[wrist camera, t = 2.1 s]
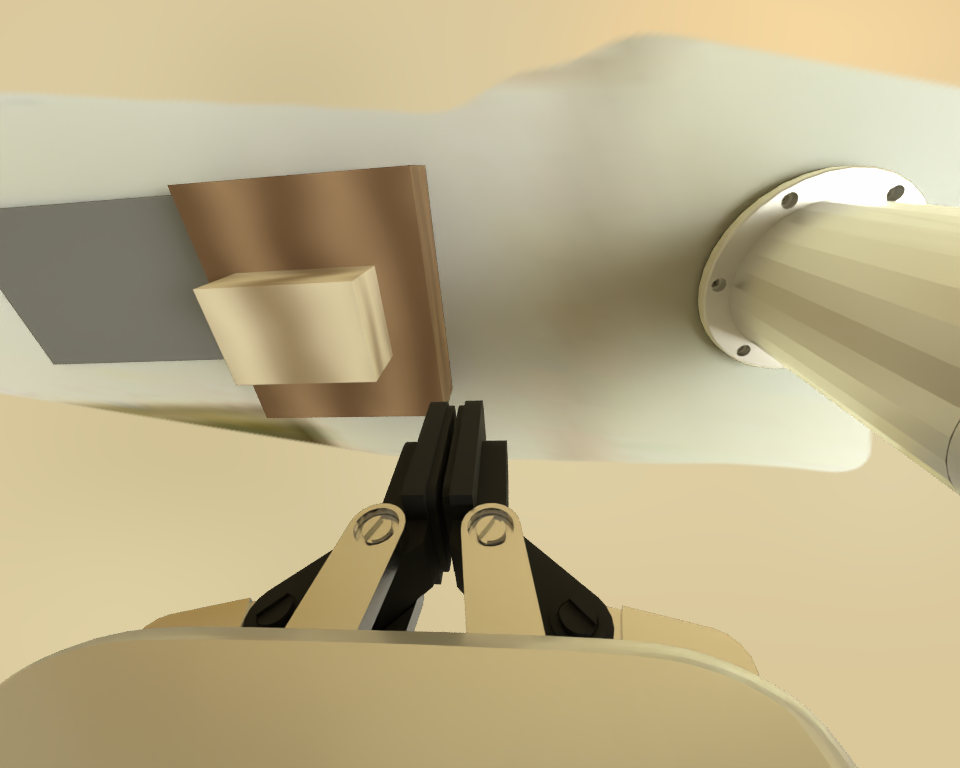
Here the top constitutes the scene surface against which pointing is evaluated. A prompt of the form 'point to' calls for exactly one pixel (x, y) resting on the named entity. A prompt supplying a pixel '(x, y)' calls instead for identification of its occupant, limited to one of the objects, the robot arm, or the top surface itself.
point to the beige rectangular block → (299, 325)
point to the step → (331, 244)
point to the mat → (106, 281)
